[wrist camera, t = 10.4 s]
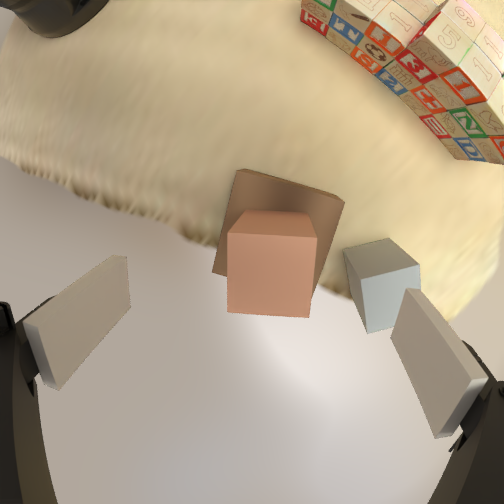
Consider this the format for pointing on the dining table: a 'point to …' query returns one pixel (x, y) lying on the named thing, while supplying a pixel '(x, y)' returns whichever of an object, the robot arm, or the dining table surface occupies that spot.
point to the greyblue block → (380, 281)
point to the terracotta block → (271, 263)
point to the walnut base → (281, 199)
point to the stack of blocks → (427, 64)
